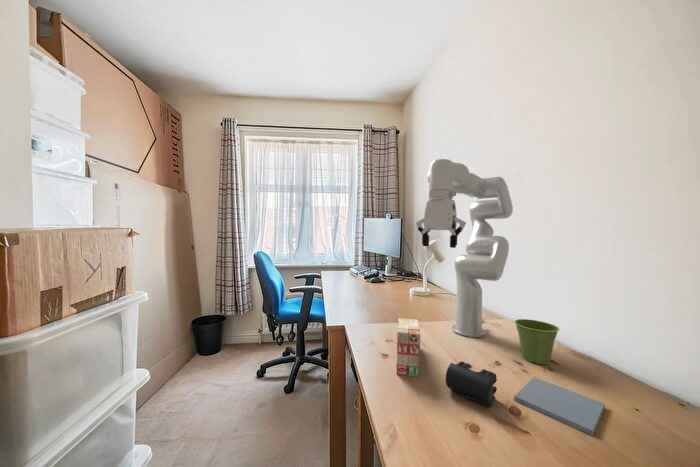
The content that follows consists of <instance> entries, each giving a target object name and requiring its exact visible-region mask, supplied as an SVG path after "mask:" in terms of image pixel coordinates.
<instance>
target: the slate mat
mask: <svg viewBox="0 0 700 467" xmlns="http://www.w3.org/2000/svg"><path fill="white" fill-rule="evenodd" d="M513 400H514V402H515V401H516V402H517V403H519V404H521V405H523V406H526V407H528V408H530V409H533V410H535V411H537V412H538V413H542V414H544V415H545V416H548V417H550V418H552V419H555V420H557V421H559V422H561V423H564V424H566V425H568V426H570V427H573V428H574V429H577V430H579V431H581V432H584V433H586V434H588V435H590V436H593V437H594V433H595V432H596V429H597V426H598V424H599V423H600V420H601V417H602V415H603V413H604V410H605V408H606V403H605V402H602V401H599V400H596V399H594V398H592V397H588V396H587V395H583V394H581V393H578V392H575V391H572V390H569V389H568V388H564V387H562V386H559V385H556V384H554V383H552V382H548V381H546V380H542V379H541V378H538V377H535V376H533V378H531V379H530V380H529V381H528V382H527V384H525V385H524V386H523V387H522V388H521V389H520V390H519V391H517V393H516V394H515V395H514V397H513Z"/></svg>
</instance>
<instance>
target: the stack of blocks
mask: <svg viewBox="0 0 700 467" xmlns="http://www.w3.org/2000/svg"><path fill="white" fill-rule="evenodd" d="M397 321H398V323H397V335H396V336H397V340H396V341H397V342H396V344H397V345H396V347H397V348H396V372H395V373H396V375H399V376H405V377H413V378H419V377H420V355H421V330H420V324H419V321H418V319H416V318H415V319H411V318H402V317H398V320H397Z"/></svg>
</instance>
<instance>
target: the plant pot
mask: <svg viewBox="0 0 700 467" xmlns="http://www.w3.org/2000/svg"><path fill="white" fill-rule="evenodd" d="M513 322H514V324H515V325H516V329H517V333H518V334H517V335H518V338H519V339H518V340H519V344H520V350H521V356H522V358H523V359H524V360H525V361H528V362H529V363H536V364H538V365H549V364H550V362H551V358H552V353H553V349H554V344H555V341H556V338H557V334H558V332H559V331H560V327H558V326H557V325H555V324H553V323H552V324H551V323H549V322H545V321H539V320H535V319H528V318H527V319H524V318H521V319H520V318H519V319H515V320H514V321H513Z"/></svg>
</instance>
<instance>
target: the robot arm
mask: <svg viewBox="0 0 700 467" xmlns="http://www.w3.org/2000/svg"><path fill="white" fill-rule="evenodd" d="M427 182H428V184H429V185H428V188H429V189H428V200H427V201H426V204H425V210H424V216H423V218H422V219H420V220H419V221H417V222H415V225H416V227H417V231H418V232H419V233H420V234H421V235H422V236H421V237H422V238H421V243H422V247H429V245H430V235H429V233H430V232H431V231H449V232H450V234H451V235H450V236H449V248H452V249H453V248H457V245H458V236H459V235H460V233H461V232H463V230H464V228H465V227H466V225H467V222H466V221H465V220H462V219H461V218H458V216H457V214H458V213H457V206H456V202H455V200H454V199H453V198H454V197H457V194H463V195H464V196H465V195H466V196H468V197H470V198H473V199H477V200H478V201H475V202H473V203H471V204H470V206H469V217H470V222H471V225H472V231H471V233H470V235H469V238H468V241H467V242H466V246H465V251H466V254H460V255H458V256H457V257H456V259H455V260H454V270H455V276H456V308H455V310H456V312H455V315H456V316H455V318H456V320H455V324H453V325H452V326H451V330H452V332H454V333H455V334H457V335H459V336H463V337H467V338H468V337H469V338H482V337H483V338H484V337H485V336H487V334H486V333H487V331H486V330H485V329H484V328H482V327H483V326H482V325H483V324H485V320H484V319H483V289H482V286H481V284H480V283H479V281H478V280H482V281H493V282H496V281H498V280H500V279H501V278H502V276H503V274H504V269H505V267H506V263H507V259H508V257H509V256H508V255H509V253H510V252H509V251H510V246H509V241H508V239H507V238H506V237H504V236H502V235H501V236H500V235H494V232H495V231H494V229H493V226H492V225H491V224H490V223H488V221H487V220H499V219H500V220H501V219H509V217H511V216H512V215H513V211H514V210H513V208H514V206H513V202H512V199H511V194H510V190H509V187H508V185H507V182H506V181H505V179H504V178H503V177H501V176H494V177H493V176H492V177H485V178H484V177H483V178H482V177H480V176H478V175H477V174H475V173H473V172H470V170H469V168H468V167H467V166H466V165H465V164H464V163H461V162H453V161H452V160H451V159H447V158H446V159H445V158H440V159H439V158H437V159H435V160H433V161H431V162H430V165H429V171H428V173H427ZM491 198H492V199H491ZM493 198H494V199H493ZM495 198H497V199H495ZM484 199H485V200H484ZM458 224H459V226H458V227H457V225H458ZM422 225H423V226H422Z"/></svg>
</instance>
